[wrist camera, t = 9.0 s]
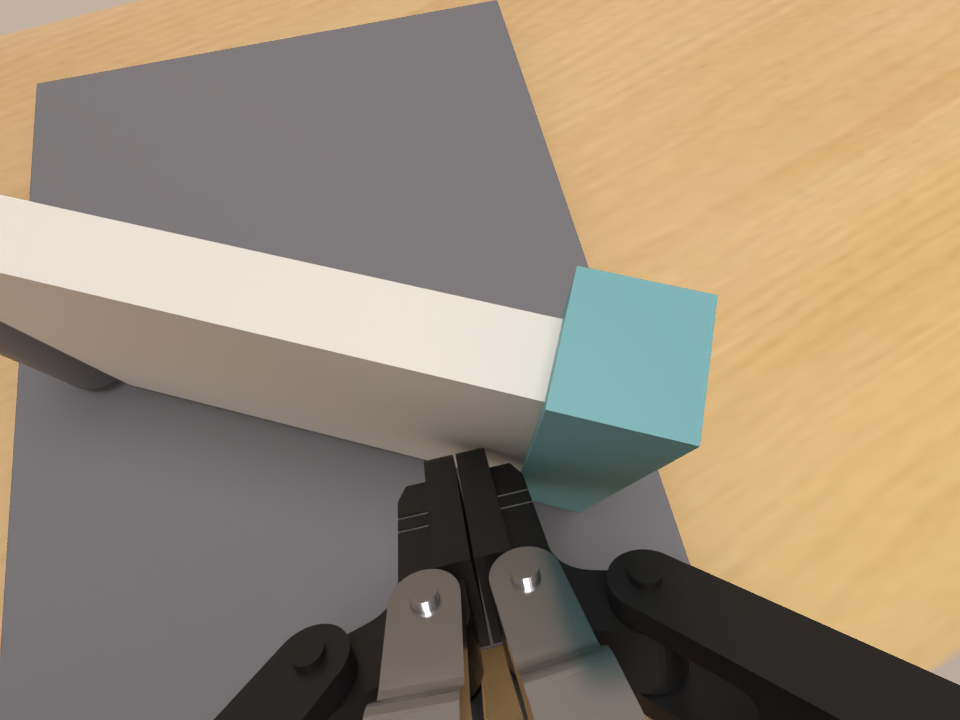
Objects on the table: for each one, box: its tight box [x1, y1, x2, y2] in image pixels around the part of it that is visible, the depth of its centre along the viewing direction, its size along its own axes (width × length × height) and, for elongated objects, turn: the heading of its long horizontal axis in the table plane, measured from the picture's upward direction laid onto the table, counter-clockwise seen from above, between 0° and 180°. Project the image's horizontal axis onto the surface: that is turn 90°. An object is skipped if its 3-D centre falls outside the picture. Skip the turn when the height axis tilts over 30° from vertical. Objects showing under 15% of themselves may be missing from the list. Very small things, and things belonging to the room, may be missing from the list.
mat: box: [0, 0, 690, 720], centre depth 20 cm, size 20×25×1 cm
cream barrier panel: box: [0, 195, 718, 513], centre depth 13 cm, size 18×2×10 cm, turn 76°
